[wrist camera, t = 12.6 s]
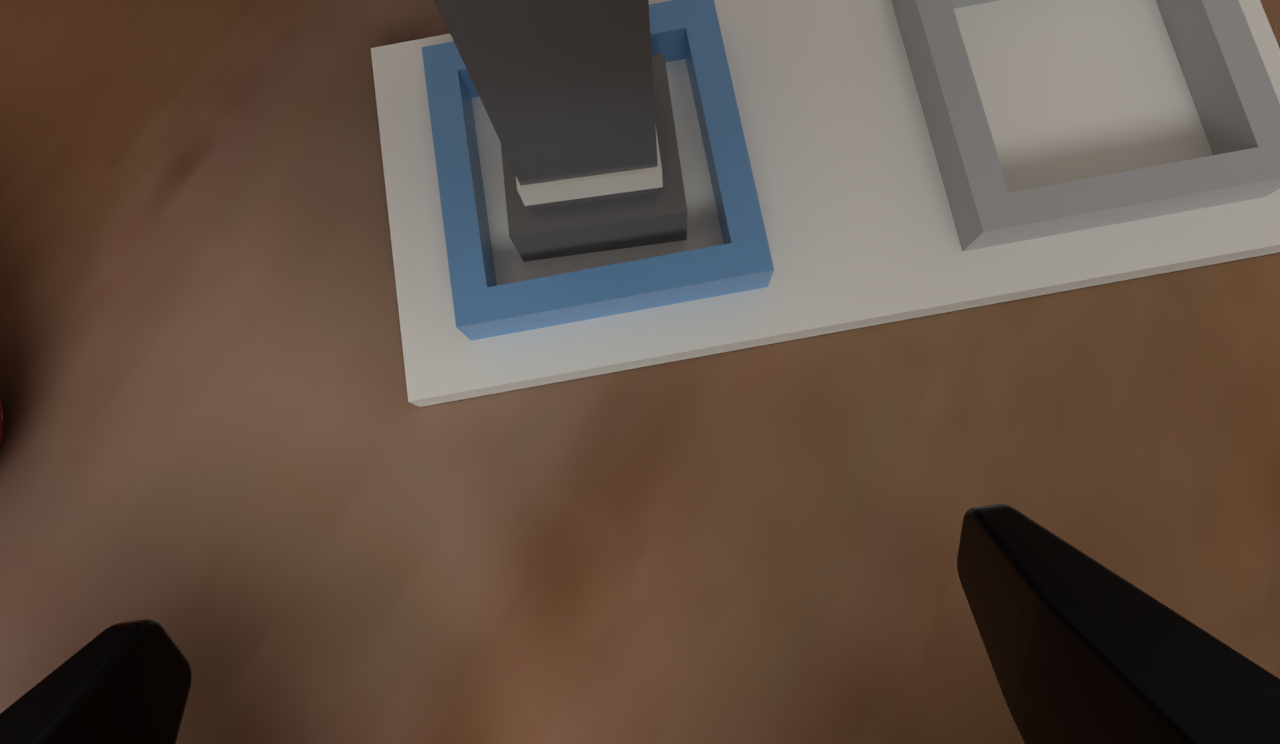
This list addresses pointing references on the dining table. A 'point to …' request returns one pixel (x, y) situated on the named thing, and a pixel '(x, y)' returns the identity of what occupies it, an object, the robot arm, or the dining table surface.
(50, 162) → the dining table surface
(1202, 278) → the dining table surface
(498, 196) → the board
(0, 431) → the christmas ornament
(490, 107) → the plug
